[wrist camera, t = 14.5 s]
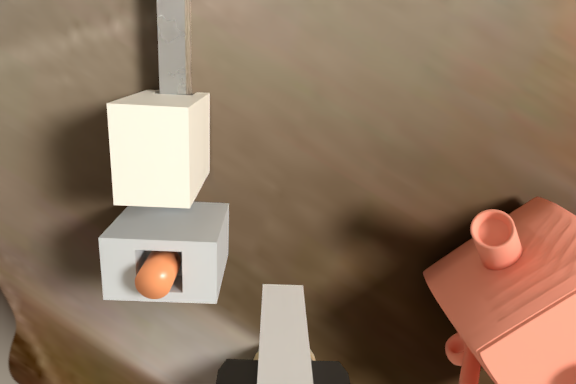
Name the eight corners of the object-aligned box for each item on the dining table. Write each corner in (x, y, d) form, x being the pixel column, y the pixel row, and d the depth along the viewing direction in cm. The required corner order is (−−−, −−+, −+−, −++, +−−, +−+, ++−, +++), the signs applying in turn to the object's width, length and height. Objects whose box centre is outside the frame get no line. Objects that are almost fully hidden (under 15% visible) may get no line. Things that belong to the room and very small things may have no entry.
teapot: (349, 237, 49) (386, 338, 32) (530, 111, 45) (681, 150, 28) (464, 381, 56) (545, 528, 39) (631, 282, 52) (803, 397, 35)
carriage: (147, 89, 43) (106, 103, 33) (209, 92, 44) (188, 107, 33) (151, 168, 46) (113, 205, 35) (209, 171, 46) (189, 208, 36)
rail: (162, -84, 39) (153, -94, 36) (189, -82, 39) (183, -92, 36) (170, 196, 47) (163, 205, 44) (193, 197, 47) (187, 207, 44)
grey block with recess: (134, 199, 47) (98, 237, 38) (229, 203, 48) (217, 242, 38) (137, 250, 49) (103, 299, 40) (228, 254, 49) (216, 303, 40)
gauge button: (147, 245, 40) (133, 266, 36) (180, 246, 40) (170, 267, 37) (148, 275, 41) (135, 298, 37) (181, 276, 41) (171, 299, 37)
